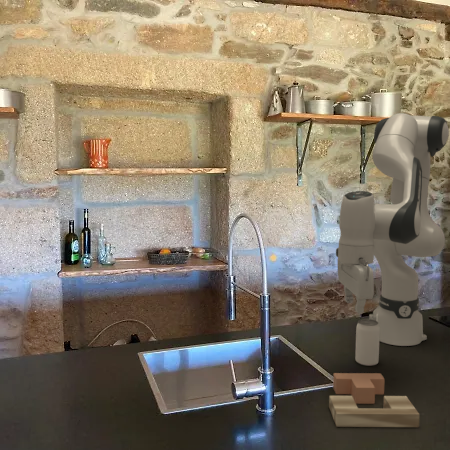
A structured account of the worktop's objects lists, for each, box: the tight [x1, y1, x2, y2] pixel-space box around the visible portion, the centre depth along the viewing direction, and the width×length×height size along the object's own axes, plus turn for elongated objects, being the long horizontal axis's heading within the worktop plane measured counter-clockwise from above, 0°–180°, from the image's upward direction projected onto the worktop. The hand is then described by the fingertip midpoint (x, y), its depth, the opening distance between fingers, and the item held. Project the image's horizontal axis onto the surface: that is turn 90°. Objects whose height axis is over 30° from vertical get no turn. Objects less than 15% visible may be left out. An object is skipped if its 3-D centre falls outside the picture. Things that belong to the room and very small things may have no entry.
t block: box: [332, 372, 385, 405], centre depth 123 cm, size 8×12×4 cm
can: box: [354, 318, 380, 367], centre depth 144 cm, size 6×6×12 cm
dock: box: [328, 395, 421, 428], centre depth 113 cm, size 8×18×3 cm, turn 89°
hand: (353, 307), depth 129 cm, fingers open, 8 cm apart
